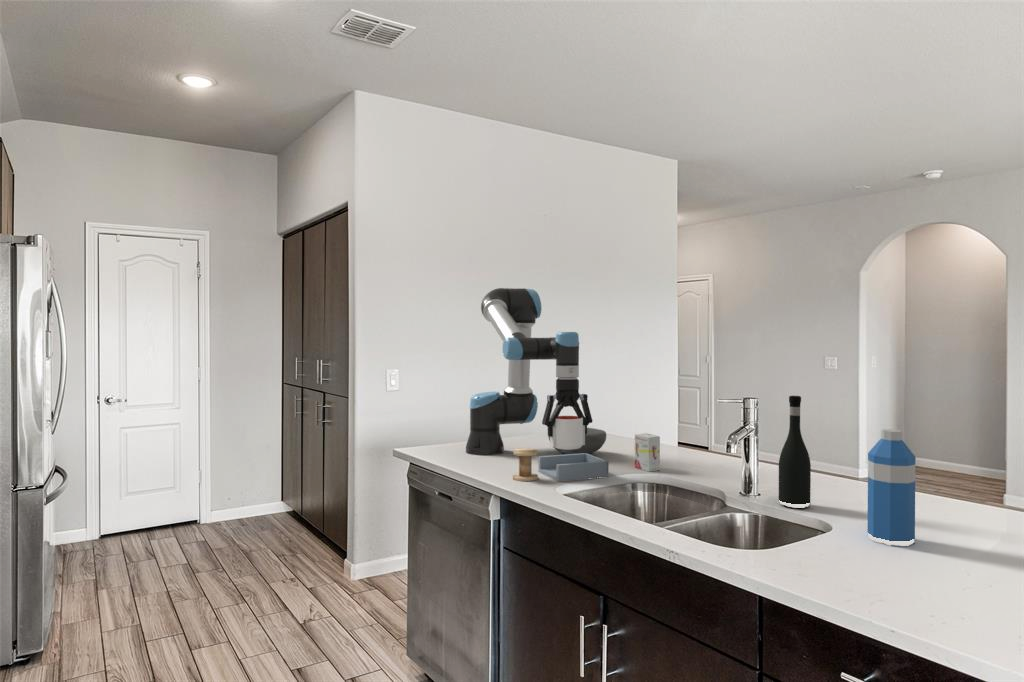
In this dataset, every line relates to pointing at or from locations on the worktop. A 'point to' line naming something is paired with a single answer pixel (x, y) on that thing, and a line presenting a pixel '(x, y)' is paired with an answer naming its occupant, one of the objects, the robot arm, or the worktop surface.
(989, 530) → the worktop surface
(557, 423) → the cup
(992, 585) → the worktop surface
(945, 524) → the worktop surface
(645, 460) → the ink box
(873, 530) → the water bottle
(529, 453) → the bobbin
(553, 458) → the notch board
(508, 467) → the worktop surface
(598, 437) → the bowl
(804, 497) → the wine bottle
